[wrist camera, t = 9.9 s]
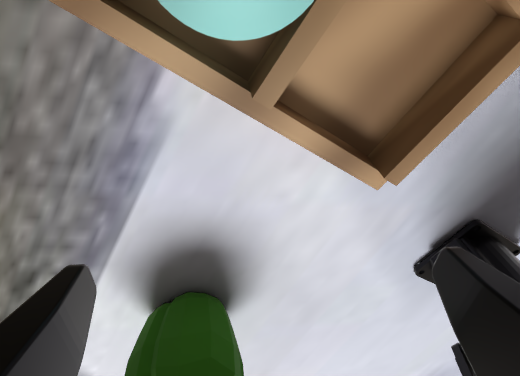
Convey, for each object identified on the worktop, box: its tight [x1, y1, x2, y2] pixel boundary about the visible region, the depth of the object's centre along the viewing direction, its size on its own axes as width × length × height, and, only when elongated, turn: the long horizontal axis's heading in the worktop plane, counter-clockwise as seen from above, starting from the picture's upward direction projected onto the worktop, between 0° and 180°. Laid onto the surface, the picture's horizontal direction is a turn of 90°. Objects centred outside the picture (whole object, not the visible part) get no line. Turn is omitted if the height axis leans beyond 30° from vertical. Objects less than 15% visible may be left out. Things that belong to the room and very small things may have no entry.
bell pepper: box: [125, 292, 244, 376], centre depth 24 cm, size 8×8×10 cm
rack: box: [49, 0, 520, 190], centre depth 14 cm, size 18×11×3 cm, turn 56°
